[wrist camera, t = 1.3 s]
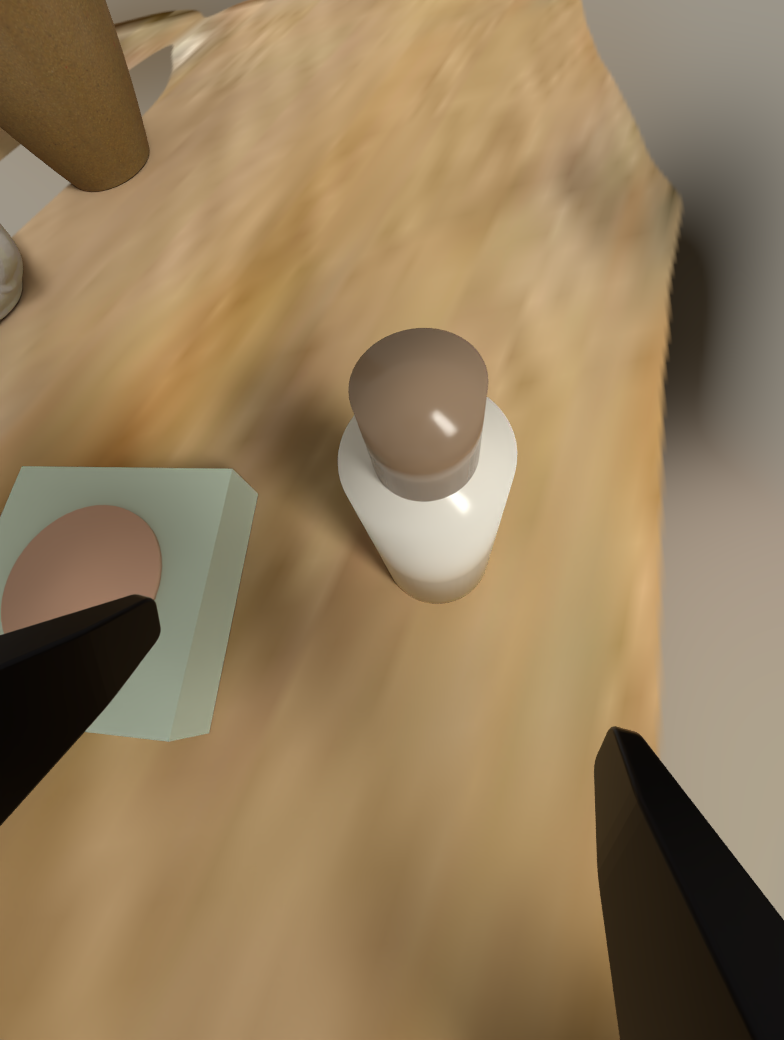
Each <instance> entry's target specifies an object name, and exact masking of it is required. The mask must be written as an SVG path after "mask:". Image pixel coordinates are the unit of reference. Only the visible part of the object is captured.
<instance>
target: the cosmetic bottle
mask: <svg viewBox="0 0 784 1040" xmlns="http://www.w3.org/2000/svg"><path fill="white" fill-rule="evenodd" d="M487 390H488V373H487V369H486V365H485V363H484V361H483V359H482V357H481V355H480V354H479V352H478V351H477V350H476V349H475V348H474V347H473V346H472V345H471V344H470V343H469V342H468V341H466V340H464V339H463V338H461V337H459V336H457V335H455V334H453V333H450V332H447V331H444V330H439V329H432V328H416V329H409V330H404V331H400V332H397V333H394V334H392V335H389V336H387V337H385V338H383V339H381V340H380V341H378V342H377V343H375V344H374V345H372V346H371V347H370V348H369V349H368V350H367V351H366V352H365V353H364V354H363V355H362V356H361V357H360V359H359V360H358V362H357V363H356V365H355V367H354V369H353V371H352V374H351V377H350V381H349V400H350V404H351V407H352V410H353V412H354V416H353V418H352V419H351V421H350V422H349V424H348V426H347V428H346V429H345V431H344V434H343V436H342V439H341V442H340V447H339V451H338V472H339V477H340V481H341V484H342V486H343V489H344V492H345V493H346V495H347V497H348V499H349V501H350V502H351V504H352V506H353V508H354V509H355V511H356V513H357V515H358V517H359V518H360V520H361V522H362V524H363V526H364V527H365V529H366V531H367V533H368V535H369V536H370V538H371V540H372V542H373V543H374V545H375V547H376V549H377V551H378V552H379V554H380V556H381V558H382V560H383V561H384V563H385V565H386V567H387V568H388V570H389V572H390V574H391V576H392V577H393V579H394V581H395V582H396V584H397V585H398V586H399V587H400V588H401V589H402V590H403V591H404V592H405V593H407V594H408V595H409V596H411V597H413V598H415V599H417V600H419V601H423V602H426V603H433V604H442V603H449V602H452V601H455V600H458V599H460V598H462V597H464V596H465V595H467V594H468V593H470V592H471V591H472V590H473V589H474V588H475V587H476V586H477V585H478V583H479V582H480V581H481V579H482V577H483V575H484V573H485V570H486V567H487V564H488V561H489V557H490V554H491V551H492V547H493V544H494V541H495V537H496V534H497V531H498V527H499V524H500V521H501V517H502V514H503V511H504V507H505V504H506V501H507V497H508V494H509V491H510V487H511V484H512V481H513V478H514V474H515V469H516V464H517V446H516V440H515V436H514V432H513V430H512V427H511V425H510V423H509V421H508V420H507V418H506V416H505V415H504V413H503V412H502V411H501V410H500V408H499V407H498V406H497V405H496V404H495V403H494V402H493V401H492V400H491V399H489V398H488V397H487Z"/></svg>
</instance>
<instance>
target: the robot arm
mask: <svg viewBox="0 0 784 1040" xmlns="http://www.w3.org/2000/svg"><path fill="white" fill-rule="evenodd" d="M160 633H161V626H160V621H159V615H158V610H157V605H156V602H155V601H154V599H152V598H150V597H146V596H142V595H139V594H133V595H129V596H126V597H123V598H119V599H116V600H113V601H110V602H106V603H103V604H100V605H97V606H93V607H90V608H87V609H83V610H80V611H77V612H74V613H70V614H67V615H64V616H61V617H57V618H54V619H51V620H48V621H44V622H41V623H38V624H35V625H31V626H28V627H25V628H21V629H18V630H15V631H12V632H8V633H5V634H2V635H0V826H1V825H2V824H3V823H4V821H5V820H6V819H7V818H8V817H9V816H10V815H11V814H12V812H13V811H14V810H15V809H16V808H17V807H18V806H19V805H20V804H21V802H22V801H23V800H24V799H25V798H26V797H27V796H28V795H29V793H30V792H31V791H32V790H33V789H34V788H35V787H36V786H37V785H38V783H39V782H40V781H41V780H42V779H43V778H44V777H45V776H46V774H47V773H48V772H49V771H50V770H51V769H52V768H53V767H54V766H55V764H56V763H57V762H58V761H59V760H60V759H61V758H62V757H63V755H64V754H65V753H66V752H67V751H68V750H69V749H70V748H71V747H72V745H73V744H74V743H75V742H76V741H77V740H78V739H79V738H80V736H81V735H82V734H83V733H84V732H85V731H86V730H87V729H88V728H89V726H90V725H91V724H92V723H93V722H94V721H95V720H96V719H97V717H98V716H99V715H100V714H101V713H102V712H103V711H104V709H105V708H106V707H107V706H108V705H109V704H110V702H111V701H112V700H113V699H114V697H115V696H116V695H117V693H118V692H119V691H120V689H121V688H122V687H123V685H124V684H125V683H126V681H127V680H128V679H129V678H130V676H131V675H132V674H133V672H134V671H135V670H136V668H137V667H138V666H139V664H140V663H141V662H142V660H143V659H144V658H145V656H146V655H147V654H148V652H149V651H150V650H151V648H152V647H153V646H154V644H155V643H156V642H157V640H158V638H159V636H160ZM594 785H595V815H596V845H597V868H598V879H599V888H600V896H601V904H602V911H603V918H604V926H605V933H606V940H607V948H608V955H609V962H610V970H611V977H612V984H613V992H614V999H615V1006H616V1014H617V1021H618V1028H619V1035H620V1040H784V920H783V919H782V917H781V916H780V915H779V913H778V912H777V911H776V910H775V908H774V907H773V906H772V904H771V903H770V902H769V900H768V899H767V898H766V897H765V895H764V894H763V893H762V891H761V890H760V889H759V887H758V886H757V885H756V884H755V882H754V881H753V880H752V878H751V877H750V876H749V874H748V873H747V872H746V871H745V869H744V868H743V867H742V865H741V864H740V863H739V862H738V860H737V859H736V858H735V856H734V855H733V854H732V852H731V851H730V850H729V849H728V847H727V846H726V845H725V843H724V842H723V841H722V840H721V838H720V837H719V836H718V834H717V833H716V832H715V830H714V829H713V828H712V827H711V825H710V824H709V823H708V822H707V820H706V819H705V818H704V816H703V815H702V814H701V813H700V811H699V810H698V808H697V807H696V806H695V805H694V803H693V802H692V801H691V799H690V798H689V797H688V796H687V794H686V793H685V792H684V790H683V789H682V788H681V786H680V785H679V784H678V783H677V781H676V780H675V779H674V777H673V776H672V775H671V774H670V772H669V771H668V770H667V769H666V767H665V766H664V764H663V763H662V762H661V761H660V759H659V758H658V757H657V755H656V754H655V753H654V752H653V750H652V749H651V748H650V746H649V745H648V744H647V742H646V741H645V740H644V739H643V737H642V736H641V735H640V734H638V733H637V732H634V731H631V730H627V729H623V728H620V727H616V726H614V727H611V728H610V729H609V730H608V732H607V734H606V736H605V739H604V741H603V743H602V745H601V747H600V750H599V752H598V754H597V756H596V760H595V765H594Z"/></svg>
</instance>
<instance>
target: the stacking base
mask: <svg viewBox="0 0 784 1040" xmlns="http://www.w3.org/2000/svg"><path fill="white" fill-rule="evenodd" d="M257 497H258V493H257V492H256V491H255V490H254V489H253V488H252V487H251V486H250V485H249V484H248V483H247V482H245V481H244V480H243V479H242V478H241V477H240V476H239V475H238V474H237V473H236V472H235V471H234V470H233V469H213V468H127V467H40V466H22V467H21V470H20V472H19V474H18V477H17V479H16V481H15V484H14V486H13V488H12V491H11V493H10V496H9V498H8V500H7V503H6V505H5V507H4V510H3V512H2V514H1V517H0V635H2V634H5V633H8V632H12V631H15V630H18V629H21V628H25V627H28V626H31V625H35V624H38V623H41V622H44V621H48V620H51V619H54V618H57V617H61V616H64V615H67V614H70V613H74V612H77V611H80V610H83V609H87V608H90V607H93V606H97V605H100V604H103V603H106V602H110V601H113V600H116V599H119V598H123V597H126V596H129V595H133V594H139V595H142V596H146V597H150V598H152V599H154V601H155V602H156V605H157V610H158V615H159V621H160V626H161V633H160V636H159V638H158V640H157V642H156V643H155V644H154V646H153V647H152V648H151V650H150V651H149V652H148V654H147V655H146V656H145V658H144V659H143V660H142V662H141V663H140V664H139V666H138V667H137V668H136V670H135V671H134V672H133V674H132V675H131V676H130V678H129V679H128V680H127V681H126V683H125V684H124V685H123V687H122V688H121V689H120V691H119V692H118V693H117V695H116V696H115V697H114V699H113V700H112V701H111V702H110V704H109V705H108V706H107V707H106V708H105V709H104V711H103V712H102V713H101V714H100V715H99V716H98V717H97V719H96V720H95V721H94V722H93V723H92V724H91V725H90V726H89V728H88V729H87V730H86V731H85V732H91V733H99V734H108V735H117V736H125V737H134V738H142V739H151V740H160V741H168V742H169V741H174V740H179V739H184V738H188V737H193V736H198V735H203V734H208V733H209V731H210V726H211V721H212V716H213V711H214V706H215V702H216V697H217V692H218V687H219V682H220V677H221V672H222V667H223V663H224V658H225V653H226V648H227V643H228V638H229V633H230V628H231V624H232V619H233V614H234V609H235V604H236V599H237V594H238V589H239V585H240V580H241V575H242V570H243V565H244V560H245V555H246V550H247V546H248V541H249V536H250V531H251V526H252V521H253V516H254V511H255V507H256V502H257Z"/></svg>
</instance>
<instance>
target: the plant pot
mask: <svg viewBox="0 0 784 1040" xmlns="http://www.w3.org/2000/svg"><path fill="white" fill-rule="evenodd" d="M0 127H1V128H2V129H3V130H5V131H6V132H7V133H8V134H9V135H10V136H12V137H13V138H14V139H15V140H17V141H18V142H19V143H20V144H22V145H23V146H24V147H25V148H27V149H28V150H29V151H30V152H31V153H33V154H34V155H35V156H36V157H38V158H39V159H40V160H42V161H43V162H44V163H45V164H47V165H48V166H49V167H51V168H52V169H53V170H54V171H56V172H57V173H58V174H59V175H61V176H62V177H64V178H65V179H66V180H68V181H69V182H70V183H72V184H73V185H74V186H76V187H77V188H79V189H81V190H84V191H102V190H107V189H110V188H113V187H116V186H118V185H120V184H122V183H124V182H126V181H127V180H129V179H130V178H131V177H133V176H134V175H135V174H137V173H138V172H139V171H140V169H141V168H142V167H143V165H144V164H145V163H146V161H147V158H148V156H149V145H148V141H147V137H146V133H145V129H144V125H143V121H142V117H141V113H140V109H139V106H138V102H137V98H136V95H135V91H134V88H133V84H132V81H131V77H130V74H129V71H128V67H127V64H126V61H125V58H124V54H123V51H122V48H121V45H120V42H119V39H118V36H117V33H116V30H115V27H114V24H113V21H112V18H111V15H110V12H109V9H108V7H107V4H106V1H105V0H0Z"/></svg>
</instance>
